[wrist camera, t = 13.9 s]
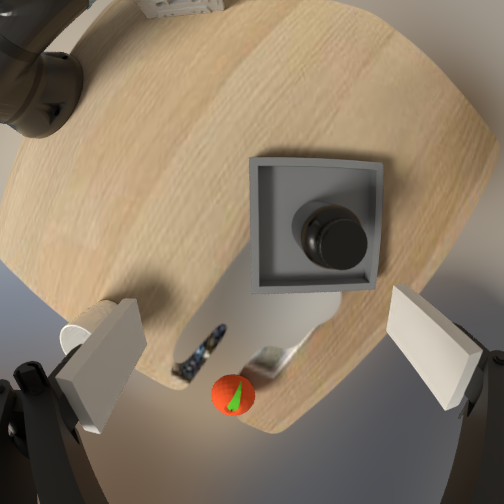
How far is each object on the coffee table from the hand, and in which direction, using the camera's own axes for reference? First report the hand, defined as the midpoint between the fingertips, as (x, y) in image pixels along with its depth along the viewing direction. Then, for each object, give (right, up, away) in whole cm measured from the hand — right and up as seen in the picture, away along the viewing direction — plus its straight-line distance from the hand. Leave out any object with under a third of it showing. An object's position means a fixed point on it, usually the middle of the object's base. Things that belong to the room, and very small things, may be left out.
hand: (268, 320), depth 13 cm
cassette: (-11, +39, +16) cm, 43 cm away
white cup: (-24, -7, +28) cm, 37 cm away
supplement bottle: (+8, +7, +23) cm, 25 cm away
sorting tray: (+8, +7, +24) cm, 26 cm away
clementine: (-4, -18, +30) cm, 35 cm away
